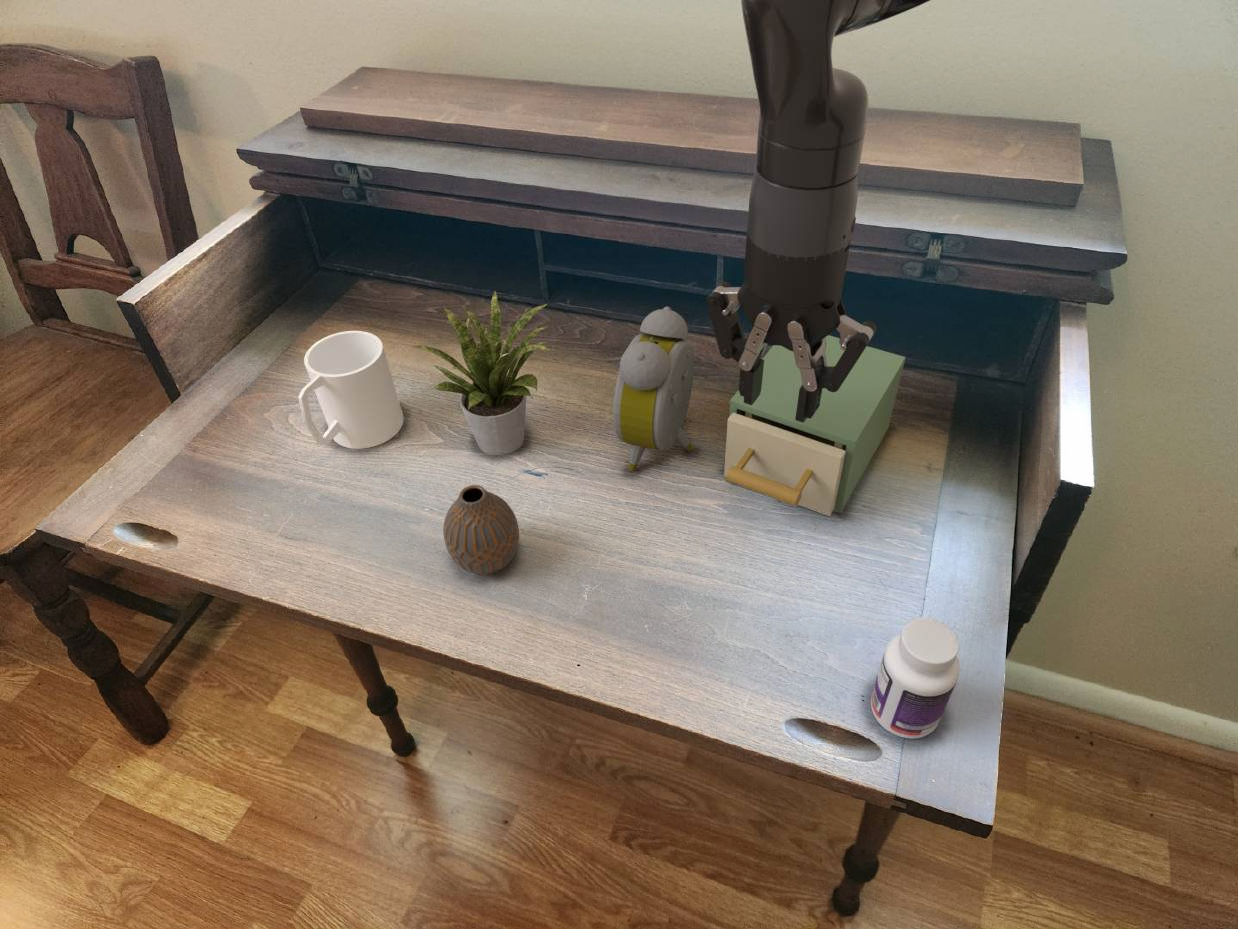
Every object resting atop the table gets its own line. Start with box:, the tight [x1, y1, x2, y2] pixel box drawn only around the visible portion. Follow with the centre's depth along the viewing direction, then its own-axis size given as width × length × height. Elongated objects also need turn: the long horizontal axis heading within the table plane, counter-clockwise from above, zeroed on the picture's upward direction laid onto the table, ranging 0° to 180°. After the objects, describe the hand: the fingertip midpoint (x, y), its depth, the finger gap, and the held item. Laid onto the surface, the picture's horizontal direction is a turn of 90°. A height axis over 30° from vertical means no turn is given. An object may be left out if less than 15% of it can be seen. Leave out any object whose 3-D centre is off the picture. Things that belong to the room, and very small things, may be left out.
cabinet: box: [728, 334, 906, 515], centre depth 85 cm, size 15×13×10 cm
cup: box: [297, 330, 405, 450], centre depth 90 cm, size 8×12×10 cm
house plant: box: [411, 290, 553, 456], centre depth 86 cm, size 14×14×16 cm
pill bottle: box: [870, 617, 961, 740], centre depth 63 cm, size 5×5×10 cm
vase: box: [442, 484, 520, 575], centre depth 77 cm, size 7×7×9 cm
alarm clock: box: [612, 306, 695, 472], centre depth 85 cm, size 12×7×15 cm, turn 160°
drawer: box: [723, 412, 846, 517], centre depth 83 cm, size 18×11×8 cm, turn 149°
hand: (777, 406), depth 72 cm, fingers open, 4 cm apart
